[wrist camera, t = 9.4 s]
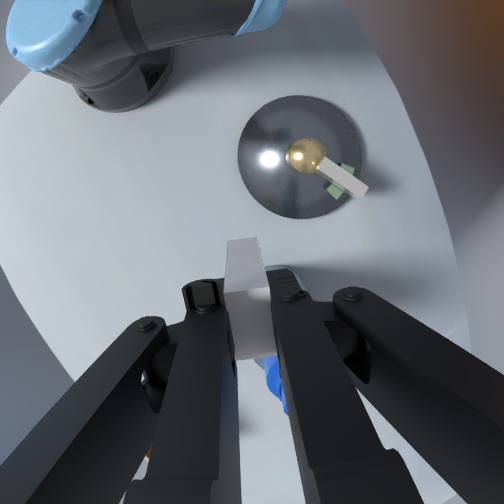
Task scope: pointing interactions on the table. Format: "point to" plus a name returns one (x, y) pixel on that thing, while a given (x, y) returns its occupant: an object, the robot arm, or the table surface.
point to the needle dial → (322, 166)
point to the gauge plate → (274, 156)
